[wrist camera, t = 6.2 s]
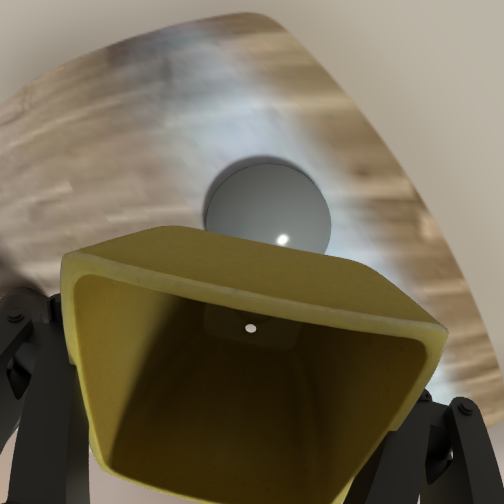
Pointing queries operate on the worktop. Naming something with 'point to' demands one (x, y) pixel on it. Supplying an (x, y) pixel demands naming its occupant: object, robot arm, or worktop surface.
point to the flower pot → (240, 364)
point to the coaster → (271, 209)
